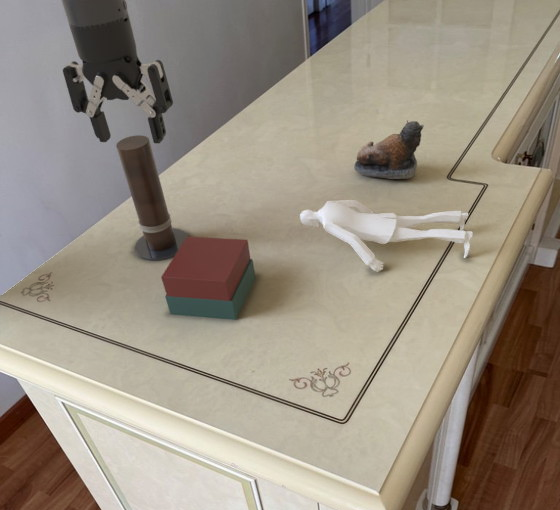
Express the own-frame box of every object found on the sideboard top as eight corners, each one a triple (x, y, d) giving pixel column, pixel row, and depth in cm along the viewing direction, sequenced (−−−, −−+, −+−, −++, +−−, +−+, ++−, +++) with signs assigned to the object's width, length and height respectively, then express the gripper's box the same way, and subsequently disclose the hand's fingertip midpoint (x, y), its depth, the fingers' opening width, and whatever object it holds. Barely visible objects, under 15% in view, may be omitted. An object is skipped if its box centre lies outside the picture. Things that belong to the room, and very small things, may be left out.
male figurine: (454, 232, 95) (301, 216, 96) (465, 197, 91) (304, 181, 91) (464, 283, 85) (294, 265, 86) (477, 247, 81) (297, 229, 82)
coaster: (124, 253, 97) (123, 250, 97) (160, 226, 102) (160, 223, 102) (164, 267, 93) (163, 264, 93) (200, 238, 98) (199, 235, 98)
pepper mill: (159, 163, 99) (111, 126, 84) (187, 163, 98) (144, 126, 83) (150, 254, 99) (101, 233, 85) (178, 255, 98) (133, 235, 83)
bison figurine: (349, 180, 107) (348, 124, 100) (363, 162, 111) (363, 108, 104) (413, 189, 102) (416, 132, 95) (425, 170, 106) (430, 114, 99)
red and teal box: (194, 273, 91) (184, 236, 86) (255, 277, 88) (249, 239, 84) (170, 314, 84) (158, 276, 80) (236, 320, 82) (228, 281, 77)
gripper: (32, 25, 73) (76, 151, 84) (136, 21, 69) (168, 153, 81) (62, 7, 78) (100, 129, 89) (160, 3, 74) (187, 130, 86)
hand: (132, 140), depth 85 cm, fingers open, 8 cm apart
